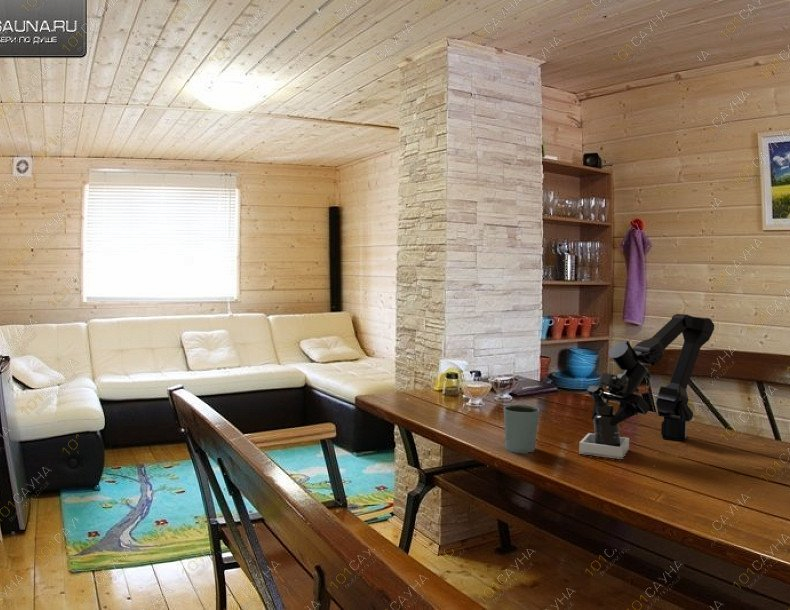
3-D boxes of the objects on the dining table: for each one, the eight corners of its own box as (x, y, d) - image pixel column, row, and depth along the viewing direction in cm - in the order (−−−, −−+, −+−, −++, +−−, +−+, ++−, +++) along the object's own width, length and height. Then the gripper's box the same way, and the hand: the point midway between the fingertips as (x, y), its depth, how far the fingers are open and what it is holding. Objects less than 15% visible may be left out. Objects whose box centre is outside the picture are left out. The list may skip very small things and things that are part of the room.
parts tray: (628, 449, 194) (629, 438, 193) (621, 460, 184) (622, 447, 183) (588, 444, 199) (588, 433, 199) (579, 454, 189) (579, 442, 189)
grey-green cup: (496, 446, 198) (497, 406, 197) (526, 442, 201) (527, 403, 200) (514, 455, 188) (515, 413, 187) (545, 452, 192) (546, 410, 191)
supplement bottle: (623, 449, 186) (619, 405, 187) (597, 450, 187) (594, 407, 188) (618, 445, 193) (614, 403, 194) (594, 446, 194) (590, 405, 195)
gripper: (591, 358, 200) (563, 399, 195) (642, 366, 183) (613, 411, 179) (609, 381, 204) (583, 422, 199) (661, 392, 188) (633, 436, 183)
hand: (602, 422), depth 190 cm, fingers closed on supplement bottle, 7 cm apart
